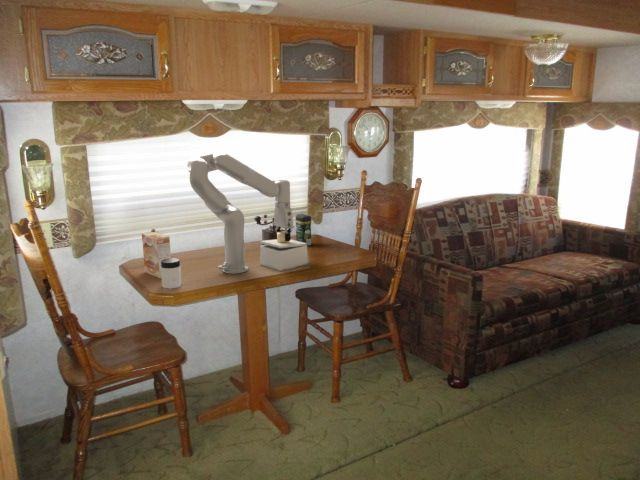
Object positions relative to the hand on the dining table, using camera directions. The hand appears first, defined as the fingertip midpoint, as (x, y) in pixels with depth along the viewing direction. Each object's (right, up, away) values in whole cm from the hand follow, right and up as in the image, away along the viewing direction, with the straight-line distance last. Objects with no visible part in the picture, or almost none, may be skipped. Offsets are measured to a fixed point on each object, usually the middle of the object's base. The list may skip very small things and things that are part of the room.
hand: (283, 239), depth 274 cm
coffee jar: (+9, -4, +44) cm, 45 cm away
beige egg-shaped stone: (0, -1, 0) cm, 1 cm away
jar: (-48, -21, -31) cm, 61 cm away
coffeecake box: (-60, -17, -12) cm, 64 cm away
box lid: (0, -2, +1) cm, 3 cm away
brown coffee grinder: (-11, -4, +43) cm, 45 cm away
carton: (0, -13, +3) cm, 13 cm away
